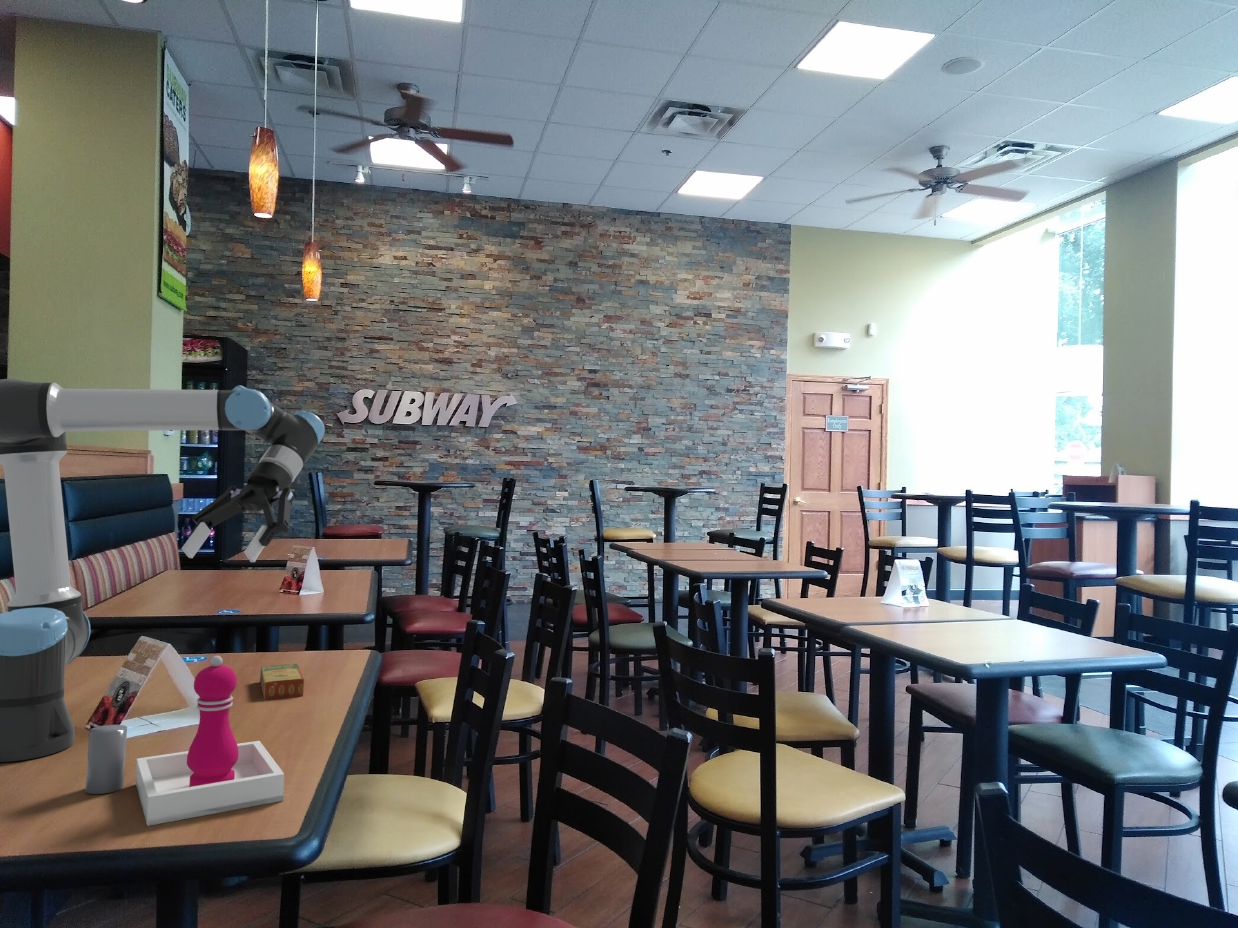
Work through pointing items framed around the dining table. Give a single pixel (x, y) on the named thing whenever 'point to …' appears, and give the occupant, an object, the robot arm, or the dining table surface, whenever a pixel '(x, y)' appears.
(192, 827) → the dining table surface
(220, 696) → the pepper mill
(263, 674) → the carton
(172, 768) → the tray
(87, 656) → the dining table surface
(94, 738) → the grey rounded pillar
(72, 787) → the dining table surface
